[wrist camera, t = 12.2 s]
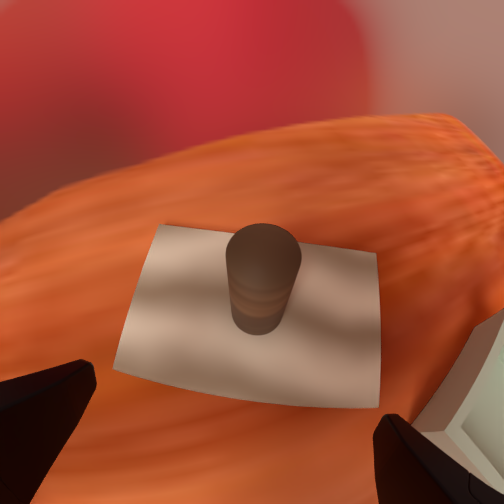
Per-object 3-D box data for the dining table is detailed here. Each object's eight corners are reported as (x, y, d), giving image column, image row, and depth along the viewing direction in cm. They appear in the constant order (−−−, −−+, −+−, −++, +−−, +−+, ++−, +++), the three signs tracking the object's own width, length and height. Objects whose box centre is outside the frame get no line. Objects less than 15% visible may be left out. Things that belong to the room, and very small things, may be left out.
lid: (371, 408, 17) (443, 394, 10) (119, 371, 18) (52, 338, 11) (371, 260, 24) (414, 191, 16) (162, 232, 25) (136, 155, 18)
